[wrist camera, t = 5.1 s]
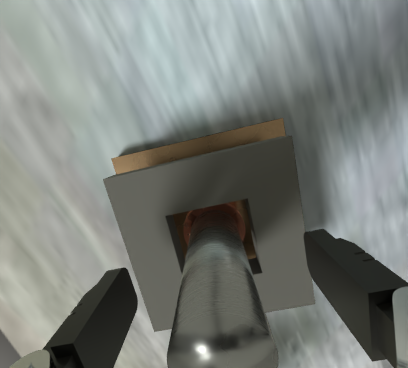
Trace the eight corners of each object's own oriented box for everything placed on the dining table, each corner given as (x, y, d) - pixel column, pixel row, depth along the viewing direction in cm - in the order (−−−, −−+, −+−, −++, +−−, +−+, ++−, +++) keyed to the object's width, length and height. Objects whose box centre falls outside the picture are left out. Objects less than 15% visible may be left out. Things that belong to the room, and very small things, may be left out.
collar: (116, 174, 13) (103, 179, 11) (281, 136, 12) (291, 135, 10) (160, 311, 15) (154, 331, 13) (303, 285, 14) (315, 303, 12)
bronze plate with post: (117, 157, 16) (-86, 199, 5) (278, 119, 15) (465, 68, 4) (160, 293, 18) (89, 522, 7) (300, 267, 17) (453, 482, 6)
